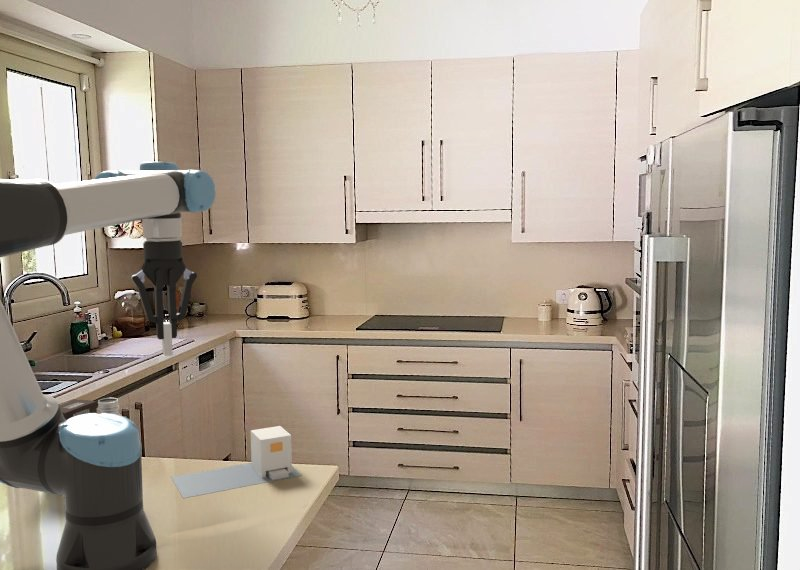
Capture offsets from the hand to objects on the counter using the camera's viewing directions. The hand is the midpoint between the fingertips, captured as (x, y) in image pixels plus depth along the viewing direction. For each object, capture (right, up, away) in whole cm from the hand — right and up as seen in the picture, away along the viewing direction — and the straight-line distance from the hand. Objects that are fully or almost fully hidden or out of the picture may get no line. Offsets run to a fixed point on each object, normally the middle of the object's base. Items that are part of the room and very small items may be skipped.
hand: (167, 354), depth 154 cm
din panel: (+14, -26, 0) cm, 30 cm away
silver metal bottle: (-8, -28, -8) cm, 30 cm away
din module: (+21, -25, +3) cm, 32 cm away
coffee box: (-20, -27, +2) cm, 34 cm away
